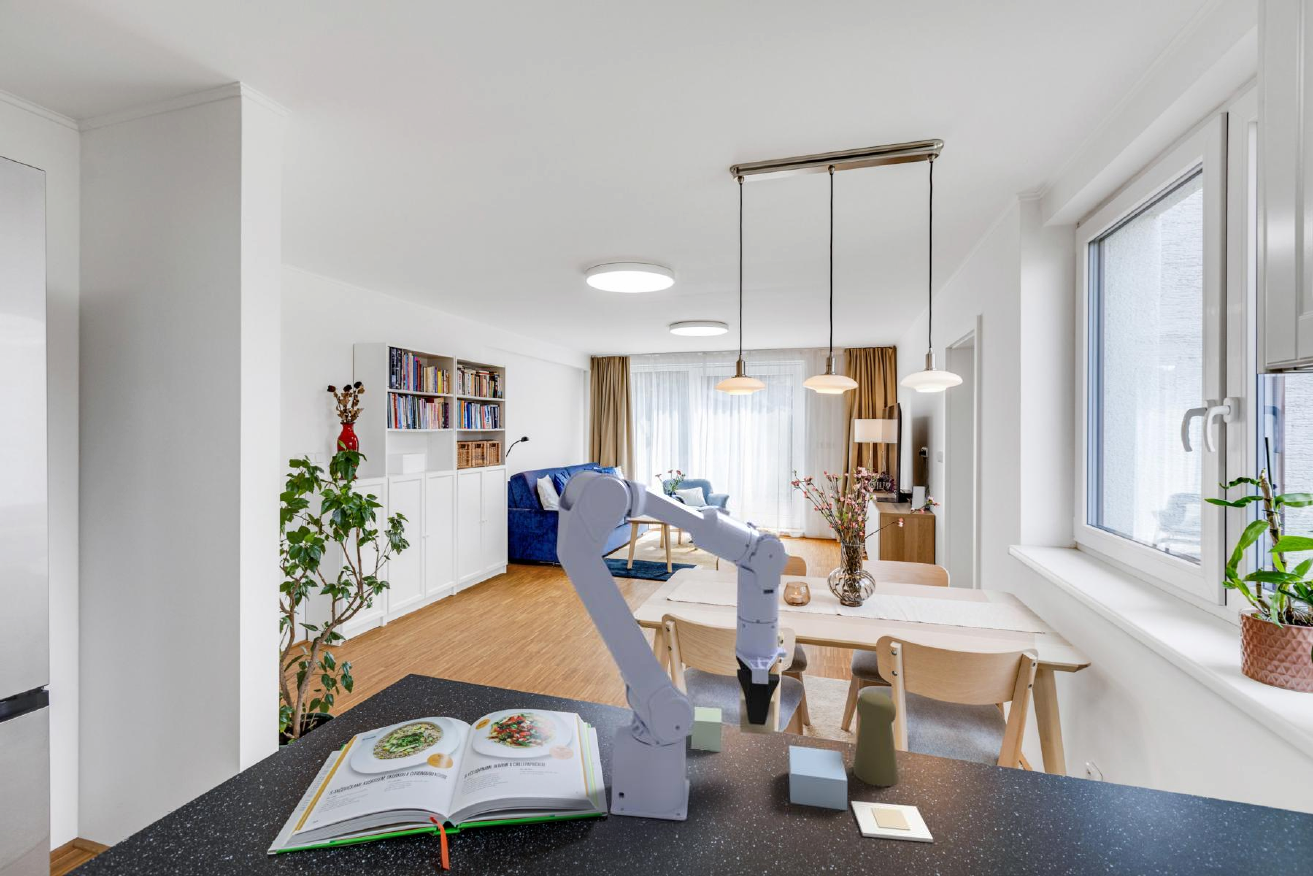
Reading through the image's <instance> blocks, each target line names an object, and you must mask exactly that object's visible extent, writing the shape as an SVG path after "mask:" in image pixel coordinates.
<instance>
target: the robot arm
mask: <svg viewBox="0 0 1313 876" xmlns="http://www.w3.org/2000/svg"><path fill="white" fill-rule="evenodd" d="M557 509H558V526H557V527H558V528H557V541H556V544H557V545H556V556H557V558H558V561H559V563H560V565H561V567H562V568H563V571H564V572H565V574H566V575H567V578H568V579H569V581H570V583H571V585H572V586H573V588H574V589H575V591H576V593H577V596H578V597H579V599H580V601H581V602H582V605H583V606H584V608H585V610H586V611H587V614H588V615H589V617H590V619H591V620H592V622H593V624H594V626H595V628H596V629H597V631H598V633H599V635H600V638H602V640H603V642H604V644H605V646H606V647H607V649H608V651H609V653H610V655H611V657H612V658H613V660H614V662H615V663H616V666H617V667H618V670H619V671H620V677H621V678H622V680H623V683H624V687H625V699H626V702H627V705H629V707H630V708H631V709H632V710H633V711H632V712H633V714H632V715H633V716H632V719H631V723H630V724H629V725H620V726H617V728H616V732H615V735H614V740H613V748H612V758H611V759H612V763H611V764H612V765H611V767H612V768H611V807H610V814H612V815H618V816H619V815H621V816H631V817H643V818H653V819H663V820H675V821H686V819H687V817H688V816H687V815H688V806H689V805H688V804H689V795H690V786H691V785H690V780H689V779H688V778H686V767H687V766H686V764H687V763H686V759H687V757H686V755H687V754H686V753H687V751H686V747H687V745H686V744H687V735H688V734H689V732H690V731H691V730H692V725H693V723H694V718H695V709H694V707H695V706H694V705H695V704H694V703H693V701H692V699H691V698H690V697H689V696H688V695H687V694H685V693H684V692H682V691H681V690H680V689H679V688H678V687H677V686H676V685H675V684H674V682H673V680H672V679H671V677H670V676H669V675H668V673H667V672H666V670H665V669H664V667H663V666H662V665H661V663H660V662H659V660H658V659H657V657H656V655H655V653H654V652H653V649H652V647H651V645H650V644H649V642H648V640H647V638H646V636H645V634H644V633H643V631H642V629H641V626H640V625H639V624H638V622H637V620H636V618H635V616H634V614H633V612H632V610H631V609H630V606H629V604H628V603H627V601H626V600H625V598H624V596H623V594H622V592H621V590H620V588H619V586H618V585H617V582H616V581H615V579H614V577H613V575H612V574H611V572H610V569H609V568H608V566H607V563H606V562H605V560H604V558H603V552H604V550H605V546H606V544H607V542H608V540H609V537H610V536H611V534H612V533H613V532H614V531H615V530H616V528H617V527H618V526H619V524H621V522H622V521H623V520H624V518H625V517H626V518H629V519H630V520H631V519H636V518H639V517H643V516H647V517H650V518H652V519H655V520H657V521H659V522H661V523H664V524H666V525H670V526H672V527H674V528H676V529H679V530H682V531H683V532H687V533H689V535H690V538H691V541H692V543H693V545H694V546H695V547H696V548H697V549H699V550H702V551H704V552H706V553H708V554H711V555H713V556H715V557H718V558H720V559H722V560H725V561H727V562H729V563H731V564H733V565H735V566H736V567H737V582H736V583H737V589H736V590H737V592H736V597H737V598H736V644H735V646H734V654H735V659H736V661H737V664H738V665H739V668H737V669H736V674H737V675H736V677H737V679H738V683H739V685H741V687H742V689H743V692H744V696H745V701H746V708H747V715H748V720H749V723H750V724H756V725H765V722H766V719H767V715H768V710H769V705H770V701H771V698H772V695H773V696H774V692H775V691H776V689H777V688H778V686H779V684H780V680H781V677H780V674H778V673H771V671H772V668H773V666H774V664H775V663H776V661H778V659H779V658H787V650H786V648H784V647H780V646H779V598H780V597H779V596H780V595H779V594H780V593H779V591H780V590H779V589H780V587H779V586H780V584H781V581H782V579H781V578H782V577H781V575H782V573H783V571H784V570H785V568H786V566H787V564H788V562H789V554H788V553H787V552H786V549H785V546H784V543H783V542H782V540H781V539H780V538H779V537H778V536H777V535H775V534H771V533H768V532H763V531H759V530H758V529H757V527H758V526H757V524H756V523H753V522H750V521H747V522H746V523H745V522H744V521H741V520H739V519H737V518H735V517H733V516H730V514H731V511H730V510H728V509H726V508H725V507H717V509H716V508H712V507H709V508H707V509H704V510H702V511H698V510H695V509H694V508H692V507H690V506H688V505H686V504H684V503H682V502H680V501H678V500H677V499H675V498H673V497H670V496H669V495H667V494H664V493H663V492H661V491H658V490H657V489H655V488H652V487H651V486H649V485H647V484H644V483H641V482H636V481H633V480H629V479H625V478H620V477H619V476H617V475H615V474H613V473H605V472H604V473H600V472H599V471H595V470H592V469H591V470H590V469H585V470H584V469H583V470H579V471H577V472H576V473H573V474H572V475H571V476H570V477H569V478H568V480H566V483H565V484H564V487H563V489H562V491H561V493H560V496H559V498H558V500H557Z"/></svg>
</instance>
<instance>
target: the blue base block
mask: <svg viewBox="0 0 1313 876" xmlns="http://www.w3.org/2000/svg"><path fill="white" fill-rule="evenodd" d="M788 749H789V751H788V777H789V778H788V779H789V799H790V800H789V801H790V804H797V805H798V804H799V805H807V806H813V807H819V808H820V807H821V808H827V809H835V810H842V811H848V778H847V773H846V770H845V768H846V767H845V765H844V761H843V756H842V755H843V754H842V751H839V750H831V749H822V748H814V747H806V746H805V747H804V746H795V745H789V746H788Z"/></svg>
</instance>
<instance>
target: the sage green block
mask: <svg viewBox="0 0 1313 876" xmlns="http://www.w3.org/2000/svg"><path fill="white" fill-rule="evenodd" d="M694 709H695V718H694V723H693V725H692V728H691V742H690V743H691V749H704V750H710V751H709V752H719V753H720V752H721V753H722V720H723V719H722V713H723V712H722V711H723V710H722V708H717V707H705V706H704V707H702V706H694Z"/></svg>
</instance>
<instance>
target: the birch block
mask: <svg viewBox="0 0 1313 876" xmlns="http://www.w3.org/2000/svg"><path fill="white" fill-rule="evenodd" d="M738 715H739V731H740V733H744V734H745V733H746V734H760V735H768V736H769V735H771V736H774V735H775V697H774V694H773V695H772V698H771V701H770V705H769V710H768V715H767V719H766V722H765V725H756V724H750V723H749V720H748V715H747V708H746V701H745V696H744V692H743V689H742V687H741V684H739V714H738Z"/></svg>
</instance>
